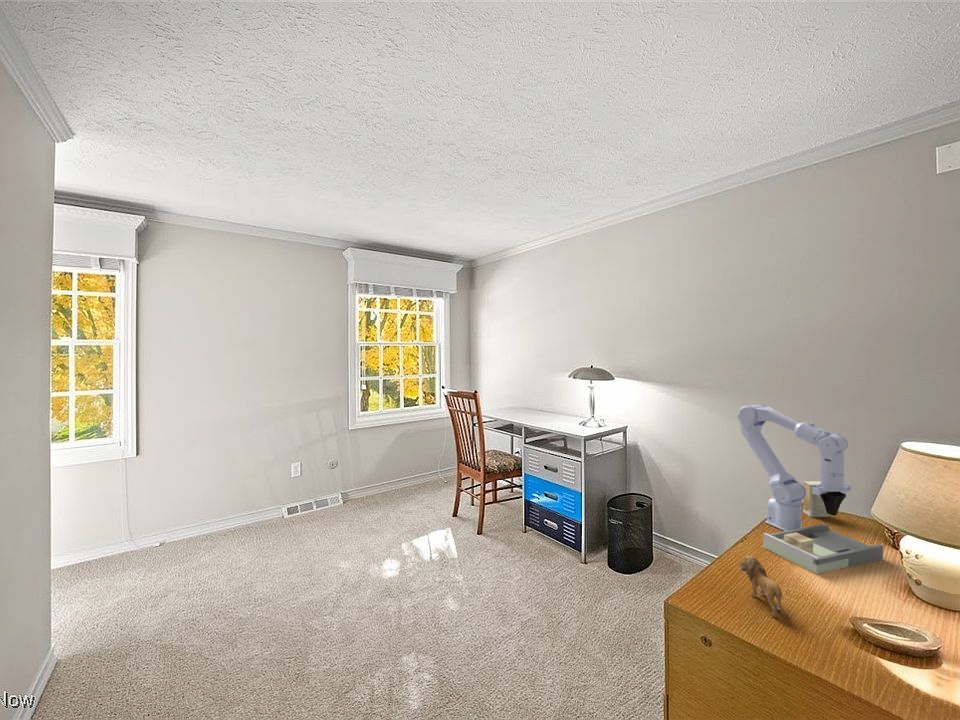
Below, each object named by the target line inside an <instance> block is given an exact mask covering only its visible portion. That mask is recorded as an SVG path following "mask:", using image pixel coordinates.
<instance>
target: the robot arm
mask: <svg viewBox="0 0 960 720" xmlns="http://www.w3.org/2000/svg"><path fill="white" fill-rule="evenodd" d="M736 418H737V419H738V421H739V423H740V430H741V433H742V435H743V437H744V438H745V440H746V441H747V443H748V445H749V447H750V448H751V450H752V451H753V452H754V454H755V455H756V457H757V459H758V461H759V462H760V464H761V466H762V467H763V469H764V471H765V472H766V474H767V475H768V476H769V482H768V486H769V488H770V490H771V494H772V497H771V498H770V499H769V500H768V501H767V505H766V506H767V507H766V520H765V521H764V522H765V524H768V525H770V526H773V527H774V528H776V529H777V528H778V529H779V530H781V531H788V530H793V529H799V528H804V527H803V526H802V512H803V505H802V504H803V501H802V500H803V498H804V497H805V496H806V490H805V488H804V486H803V484H802V483H800V482H799V481H798V480H797V479H796V477H795V476H793V475H792V474H791V473H788V471H787V470H786V469H785V467H784V466H783V465H782V463H781V461H780V460H779V459H778V457H777V455H776V454H775V452H774V450H773V449H772V448H771V446H770V445H769V443H768V441H767V440H766V438H765V437H764V435H763V434H762V432H761V431H762V428H763V426H764V424H766V422H771V423H774V424H777V425H779V426H780V427H784V428H786V429H788V430H790V431H793V432H794V435H795V437H796V438H798V439H801V440H803V441H804V442H807V443H809V444H811V445H813V446H815V447H816V448H817V449H818V450H819V452H820V481H821V483H820V484H819V485H817V486H816V487H812V493H813V494H816V495H820V497H821V498H822V500H823V502H824V505H825V508H826V512H827V514H828V515H830V516H837V515H838V512H839V509H840V507H841V505H842V502H844V500H845V498H846V497H847V494H846V493H848V491H852V484H851V483H849V482H848V483H847V482H845V481H844V480H845V452H844V451H846V450H847V448H848V446H849V443H848V440H847V439H846V438H845V437H844V436H843V435H841V434H840V433H836V432H835V433H831V431H830V430H826V429H822V428H820V427H818V426H816V425H815V423H813V422H811V421H810V422H809V421H808V422H807V421H802V422H798V421H796V420H795V419H792V418H791V417H789V416H787V415H785V414H783V413H781V412H780V411H778V410H775V409H774V408H773V407H770V406H767V405H766V404H763V403H759V404H752V405H743V406H741V407H740V408H739V410H738V413H737V415H736Z"/></svg>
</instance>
